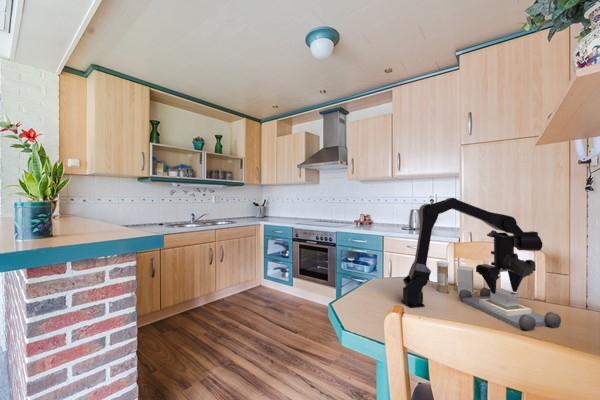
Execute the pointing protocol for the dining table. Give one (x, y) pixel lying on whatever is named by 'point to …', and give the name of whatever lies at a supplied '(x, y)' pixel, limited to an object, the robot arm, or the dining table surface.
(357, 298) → the dining table surface
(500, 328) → the dining table surface
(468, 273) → the small box
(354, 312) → the dining table surface
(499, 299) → the block
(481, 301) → the chassis
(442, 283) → the sprinkles bottle
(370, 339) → the dining table surface
